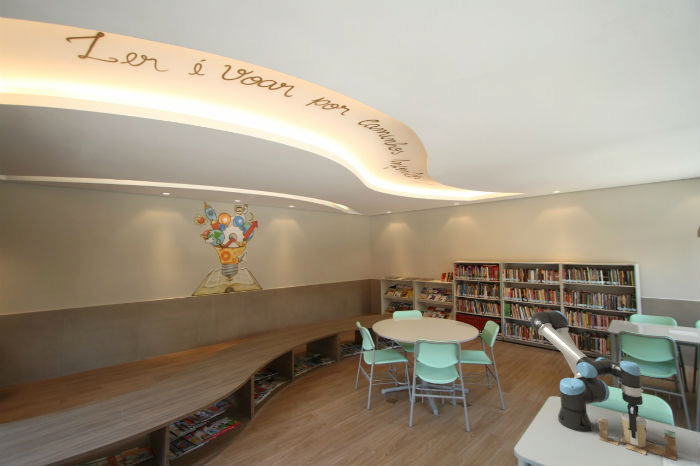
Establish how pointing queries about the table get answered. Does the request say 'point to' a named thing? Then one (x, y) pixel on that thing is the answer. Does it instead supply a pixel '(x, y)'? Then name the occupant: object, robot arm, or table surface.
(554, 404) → the table surface
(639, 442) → the coffee cup
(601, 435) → the broken strip
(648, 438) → the coaster
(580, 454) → the table surface
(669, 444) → the wooden l bracket
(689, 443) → the table surface
